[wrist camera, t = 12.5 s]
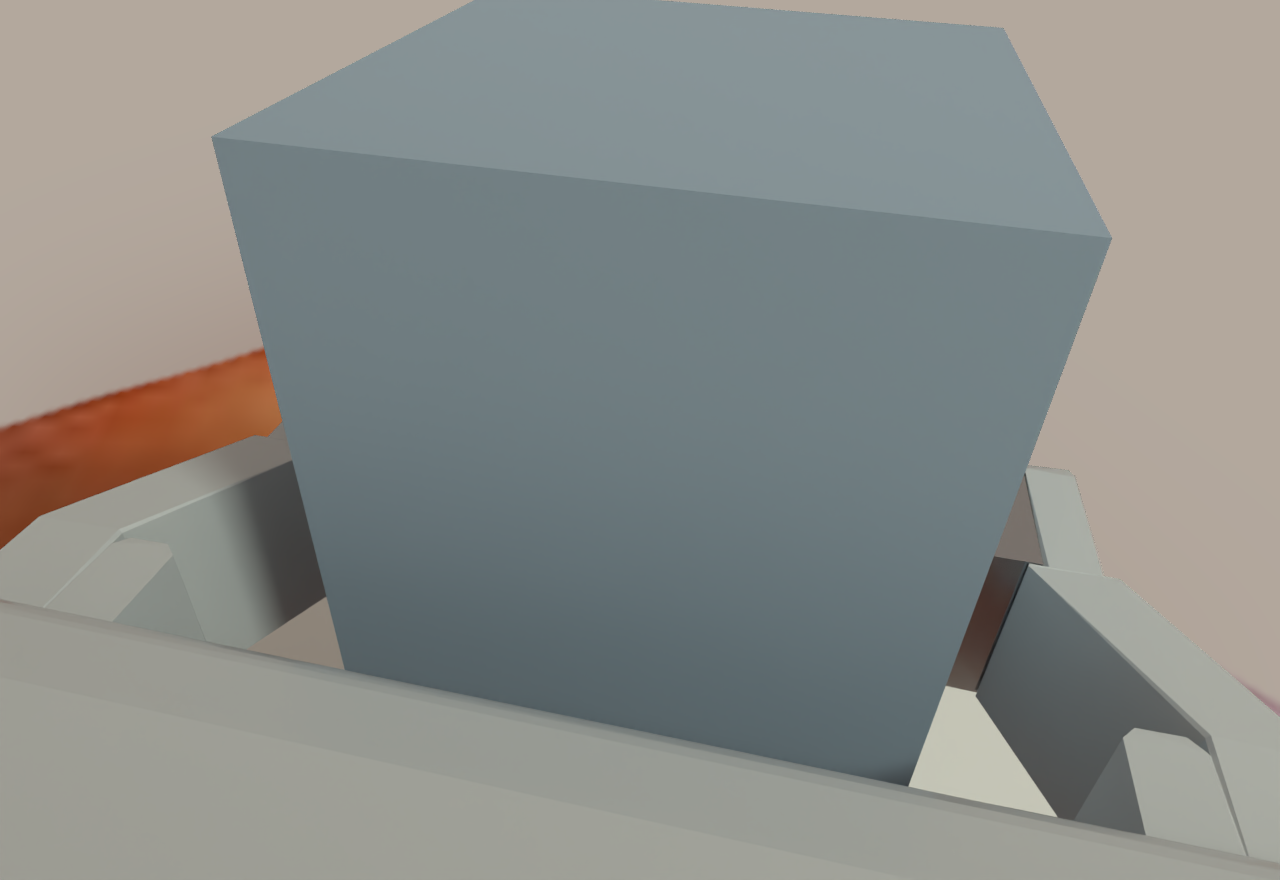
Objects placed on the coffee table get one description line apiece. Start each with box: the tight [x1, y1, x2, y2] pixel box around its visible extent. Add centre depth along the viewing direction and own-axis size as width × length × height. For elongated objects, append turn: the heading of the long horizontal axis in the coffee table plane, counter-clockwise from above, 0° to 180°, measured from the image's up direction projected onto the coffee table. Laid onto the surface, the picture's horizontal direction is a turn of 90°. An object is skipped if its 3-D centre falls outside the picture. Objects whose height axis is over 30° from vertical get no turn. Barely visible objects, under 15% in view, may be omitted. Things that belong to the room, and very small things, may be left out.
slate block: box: [212, 0, 1112, 786], centre depth 10 cm, size 5×5×10 cm
